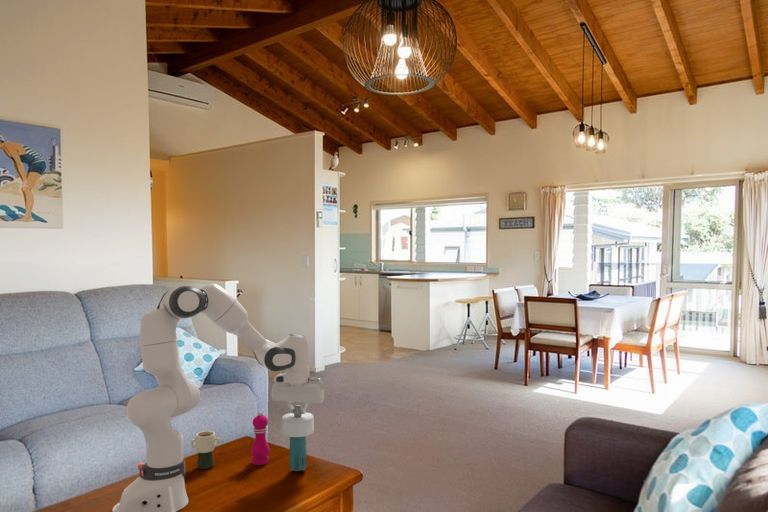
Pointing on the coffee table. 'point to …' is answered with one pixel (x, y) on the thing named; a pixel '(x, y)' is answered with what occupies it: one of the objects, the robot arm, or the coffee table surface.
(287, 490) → the coffee table surface
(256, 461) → the pepper mill
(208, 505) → the coffee table surface
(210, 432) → the character mug
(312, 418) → the cap
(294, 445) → the beverage bottle
